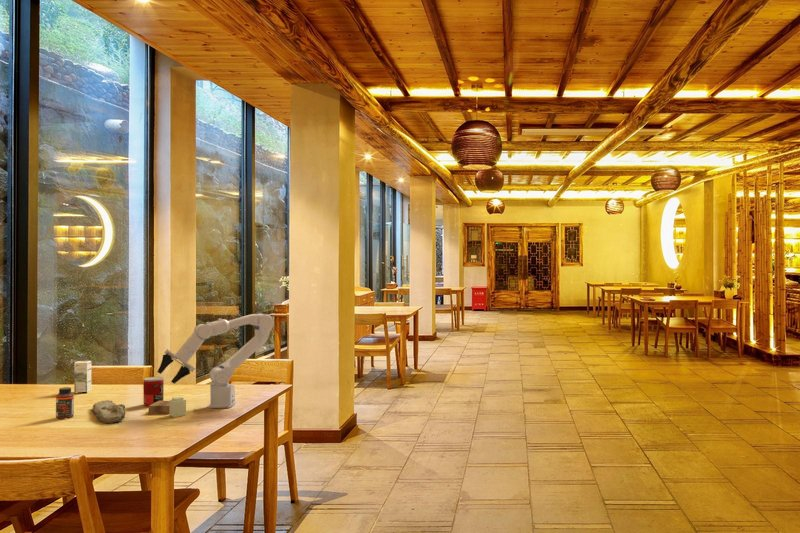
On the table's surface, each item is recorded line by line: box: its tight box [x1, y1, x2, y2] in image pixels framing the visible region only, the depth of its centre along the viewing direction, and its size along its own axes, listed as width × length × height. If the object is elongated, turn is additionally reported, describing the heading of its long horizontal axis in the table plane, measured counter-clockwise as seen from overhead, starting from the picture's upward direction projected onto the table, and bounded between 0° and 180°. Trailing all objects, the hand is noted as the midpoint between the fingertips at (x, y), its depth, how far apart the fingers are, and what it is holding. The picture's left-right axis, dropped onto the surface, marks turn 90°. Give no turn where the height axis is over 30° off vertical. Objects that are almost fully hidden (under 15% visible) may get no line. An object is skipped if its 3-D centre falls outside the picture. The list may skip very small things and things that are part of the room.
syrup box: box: [73, 360, 92, 393], centre depth 275 cm, size 6×6×14 cm
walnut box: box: [148, 400, 169, 415], centre depth 236 cm, size 9×9×4 cm
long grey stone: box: [91, 399, 126, 424], centre depth 230 cm, size 35×5×10 cm
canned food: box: [142, 376, 165, 407], centre depth 248 cm, size 8×8×11 cm
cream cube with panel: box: [168, 396, 187, 418], centre depth 228 cm, size 5×5×7 cm
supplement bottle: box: [55, 386, 75, 420], centre depth 225 cm, size 6×6×11 cm
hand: (165, 377), depth 233 cm, fingers open, 7 cm apart
